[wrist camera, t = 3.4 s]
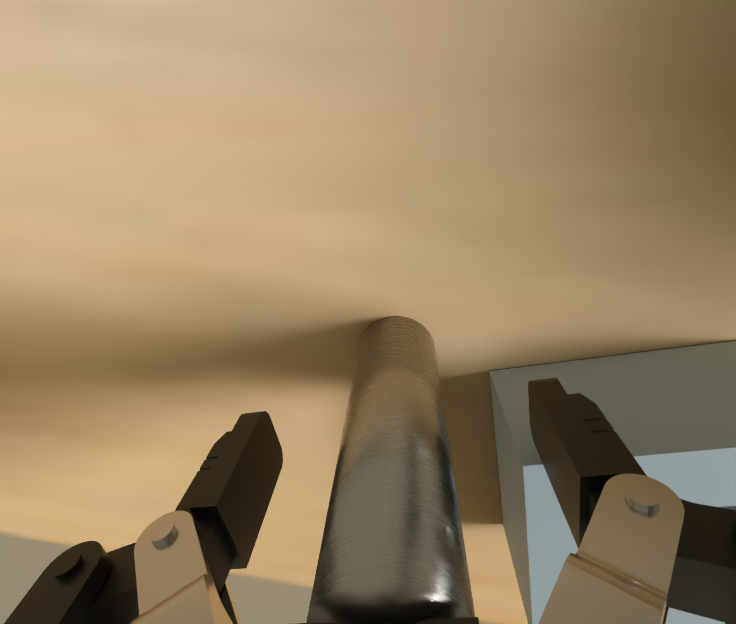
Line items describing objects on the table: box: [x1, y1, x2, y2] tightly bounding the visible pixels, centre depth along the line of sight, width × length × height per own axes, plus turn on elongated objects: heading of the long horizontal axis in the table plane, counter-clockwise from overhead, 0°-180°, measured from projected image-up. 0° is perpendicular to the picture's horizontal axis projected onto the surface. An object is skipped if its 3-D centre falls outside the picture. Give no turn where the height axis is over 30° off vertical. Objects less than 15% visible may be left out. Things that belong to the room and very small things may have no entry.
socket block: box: [489, 341, 736, 624], centre depth 15 cm, size 9×9×5 cm
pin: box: [307, 316, 475, 624], centre depth 12 cm, size 3×3×10 cm
